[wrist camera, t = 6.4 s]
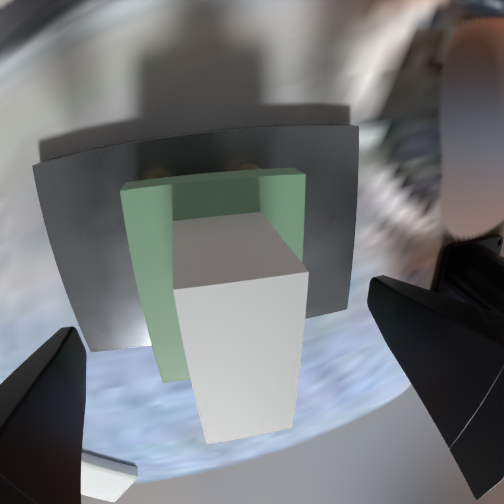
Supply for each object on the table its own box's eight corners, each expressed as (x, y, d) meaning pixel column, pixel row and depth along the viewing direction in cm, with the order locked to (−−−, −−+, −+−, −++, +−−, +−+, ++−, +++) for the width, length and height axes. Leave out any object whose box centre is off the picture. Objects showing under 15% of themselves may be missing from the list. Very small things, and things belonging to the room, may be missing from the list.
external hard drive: (113, 490, 22) (-5, 449, 17) (137, 461, 20) (-7, 409, 15) (113, 503, 21) (-8, 462, 16) (138, 477, 19) (-13, 425, 14)
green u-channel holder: (293, 167, 10) (375, 213, 6) (286, 345, 13) (330, 433, 9) (125, 182, 9) (86, 244, 5) (162, 364, 12) (167, 463, 8)
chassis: (349, 124, 13) (394, 132, 10) (340, 300, 17) (370, 338, 14) (40, 162, 10) (2, 180, 7) (93, 341, 14) (83, 389, 11)
